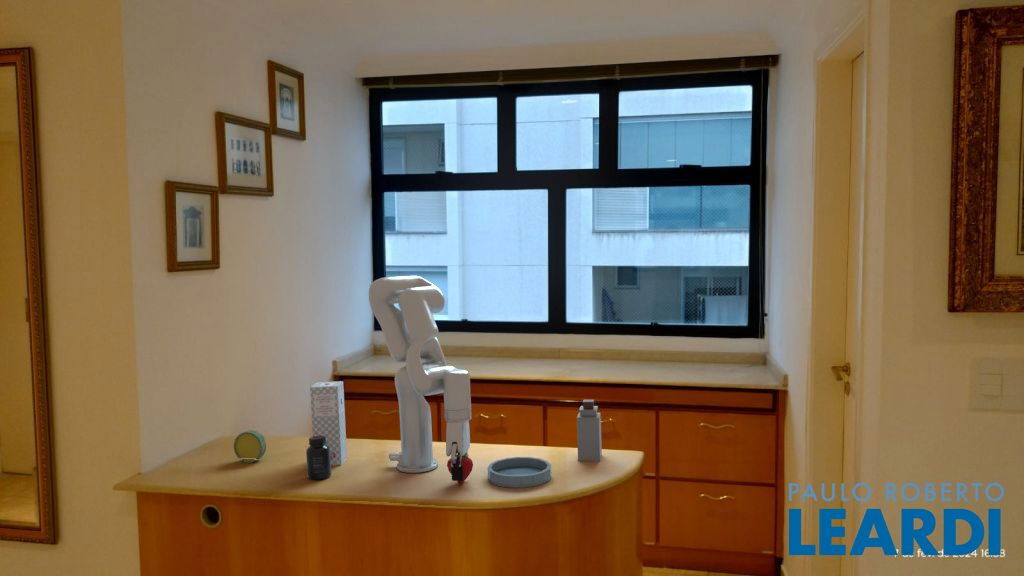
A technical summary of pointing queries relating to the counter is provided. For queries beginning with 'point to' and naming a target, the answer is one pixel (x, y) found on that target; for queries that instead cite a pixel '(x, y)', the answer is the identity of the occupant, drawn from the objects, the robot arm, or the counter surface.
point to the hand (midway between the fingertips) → (460, 476)
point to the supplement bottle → (318, 458)
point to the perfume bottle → (589, 432)
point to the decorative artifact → (249, 446)
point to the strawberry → (466, 465)
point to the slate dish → (519, 472)
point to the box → (330, 417)
